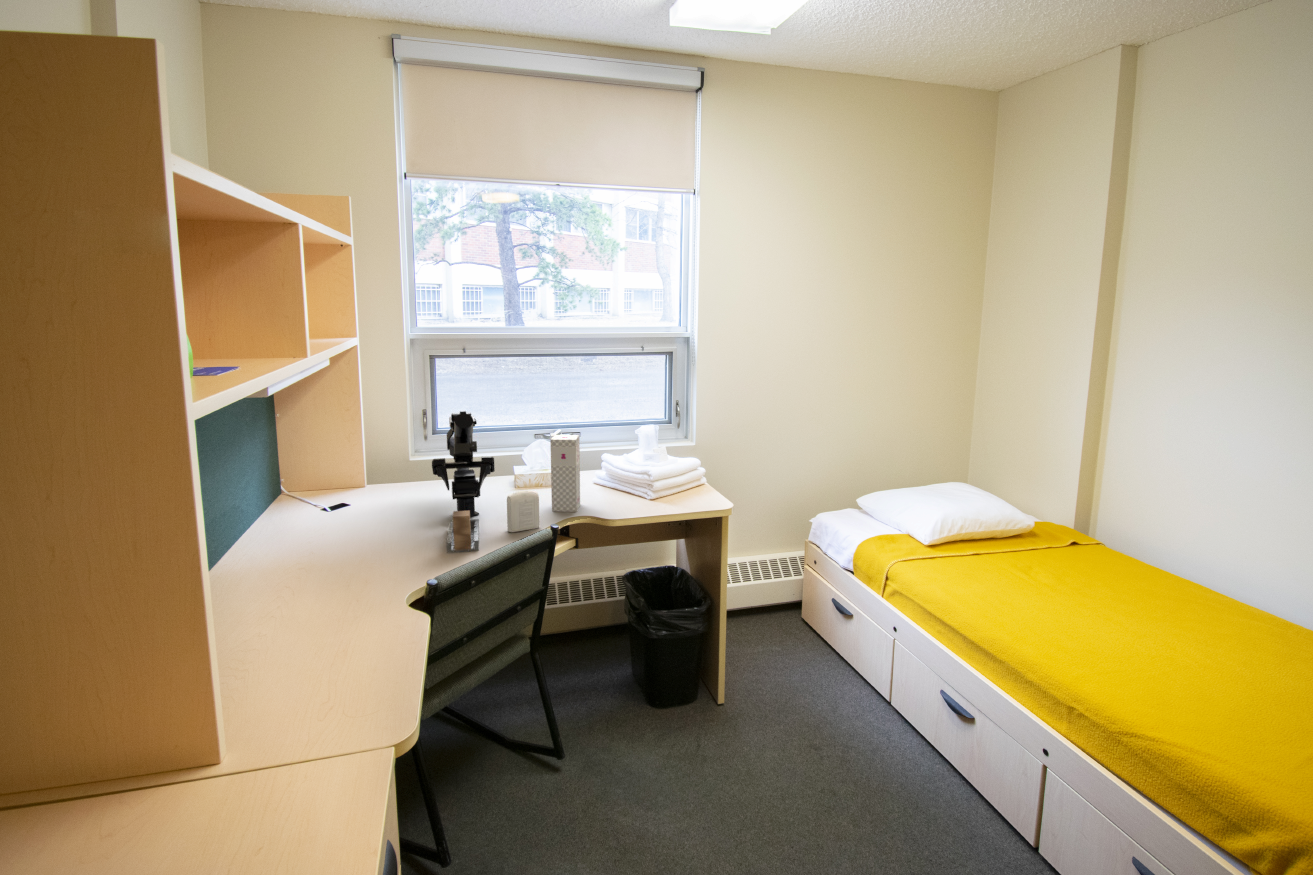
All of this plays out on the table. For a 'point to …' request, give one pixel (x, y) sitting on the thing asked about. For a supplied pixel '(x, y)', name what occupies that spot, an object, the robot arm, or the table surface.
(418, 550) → the table surface
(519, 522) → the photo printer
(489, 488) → the table surface
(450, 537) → the gray rectangular tray
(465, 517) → the wooden tall block
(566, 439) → the box
